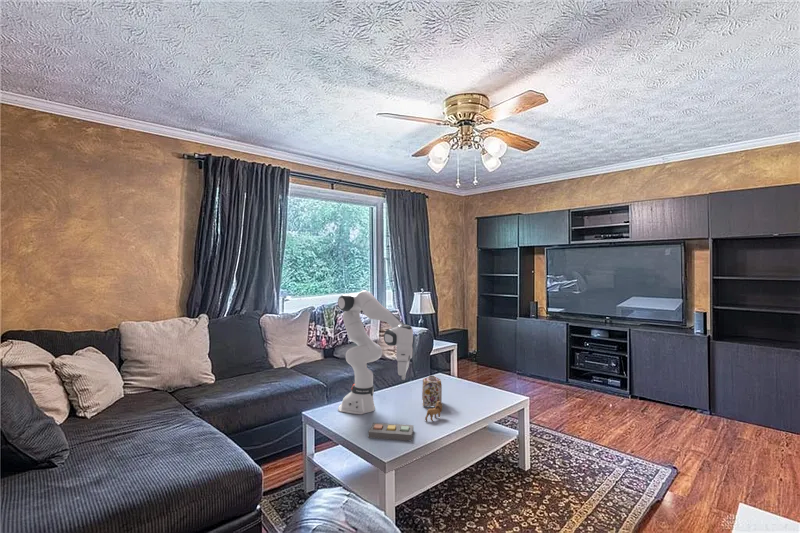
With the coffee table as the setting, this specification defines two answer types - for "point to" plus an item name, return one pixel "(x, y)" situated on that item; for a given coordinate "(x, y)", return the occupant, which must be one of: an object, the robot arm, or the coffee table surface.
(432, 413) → the lion figurine
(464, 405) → the coffee table surface
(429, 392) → the decorative jar
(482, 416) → the coffee table surface
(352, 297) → the robot arm
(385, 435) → the button panel
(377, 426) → the terracotta button
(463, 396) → the coffee table surface
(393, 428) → the ochre button
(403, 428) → the sage button
